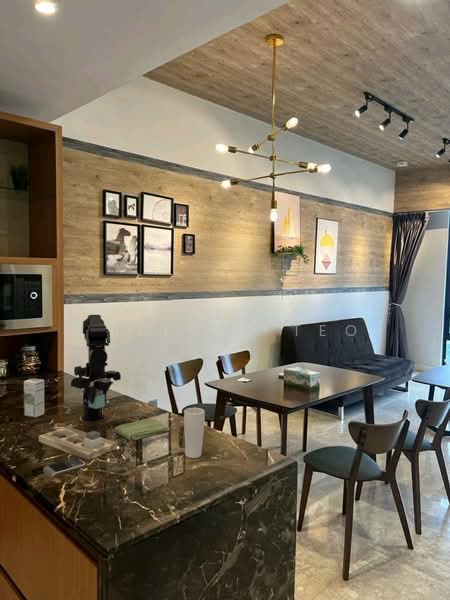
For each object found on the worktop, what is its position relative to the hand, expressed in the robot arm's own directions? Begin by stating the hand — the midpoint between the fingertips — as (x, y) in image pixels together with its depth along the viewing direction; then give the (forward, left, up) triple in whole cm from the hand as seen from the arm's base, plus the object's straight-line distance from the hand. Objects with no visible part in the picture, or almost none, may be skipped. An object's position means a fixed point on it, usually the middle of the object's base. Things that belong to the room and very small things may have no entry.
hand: (96, 402), depth 165 cm
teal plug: (0, 0, -2) cm, 2 cm away
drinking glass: (-6, +41, -12) cm, 43 cm away
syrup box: (+1, -36, -12) cm, 38 cm away
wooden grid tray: (+11, +4, -12) cm, 17 cm away
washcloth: (-12, +12, -12) cm, 21 cm away
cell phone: (+25, +16, -12) cm, 32 cm away
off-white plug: (+11, +12, -12) cm, 20 cm away
